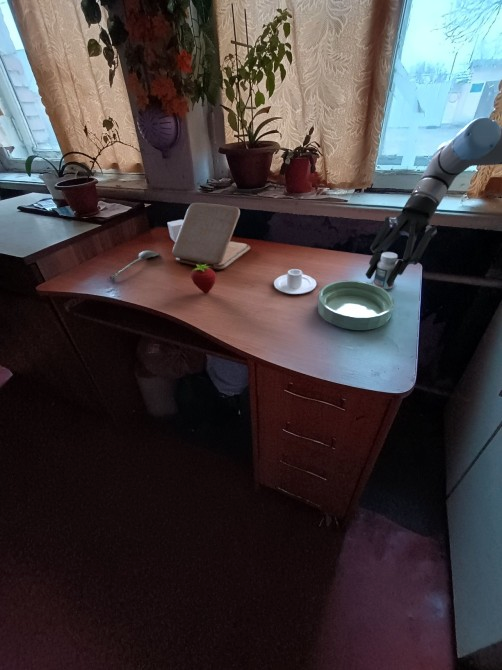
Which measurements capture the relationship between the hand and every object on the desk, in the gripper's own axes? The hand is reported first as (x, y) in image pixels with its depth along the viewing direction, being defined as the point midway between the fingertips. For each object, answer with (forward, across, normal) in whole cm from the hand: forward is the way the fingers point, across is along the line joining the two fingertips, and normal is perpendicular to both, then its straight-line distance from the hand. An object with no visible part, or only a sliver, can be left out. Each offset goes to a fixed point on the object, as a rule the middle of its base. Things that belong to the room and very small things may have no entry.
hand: (378, 280), depth 83 cm
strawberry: (+26, +33, +21) cm, 47 cm away
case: (+13, +53, +9) cm, 55 cm away
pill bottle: (0, 0, -5) cm, 5 cm away
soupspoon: (+30, +66, +25) cm, 76 cm away
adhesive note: (+12, +77, +8) cm, 79 cm away
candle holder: (+11, +18, +7) cm, 22 cm away
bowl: (+11, -1, +7) cm, 14 cm away
